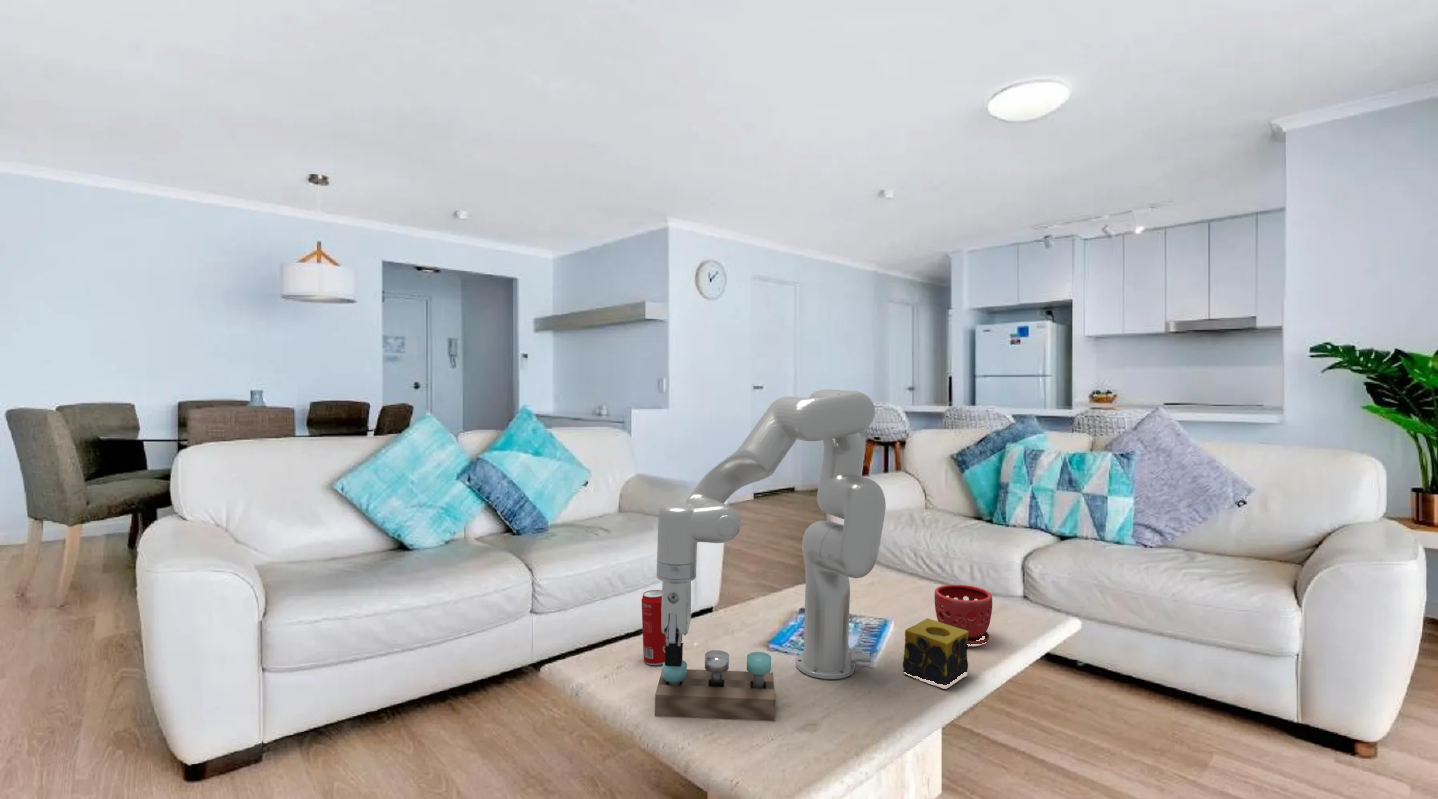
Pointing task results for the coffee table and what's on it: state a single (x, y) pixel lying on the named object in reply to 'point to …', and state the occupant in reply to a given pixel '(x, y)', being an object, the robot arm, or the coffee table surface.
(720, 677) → the steel knob middle
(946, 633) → the tissue box cover
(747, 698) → the walnut mount
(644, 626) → the beverage can
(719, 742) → the coffee table surface
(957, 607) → the plant pot
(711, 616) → the coffee table surface
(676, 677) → the teal knob
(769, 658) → the teal knob
